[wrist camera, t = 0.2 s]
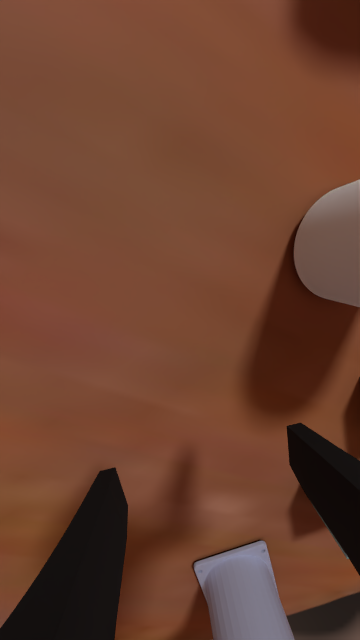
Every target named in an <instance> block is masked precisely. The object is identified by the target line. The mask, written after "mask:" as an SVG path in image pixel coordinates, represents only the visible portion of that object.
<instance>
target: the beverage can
mask: <svg viewBox="0 0 360 640" xmlns="http://www.w3.org/2000/svg"><path fill="white" fill-rule="evenodd" d="M294 262H295V267H296V270H297V273H298V276H299V278H300V279H301V281H302V283H303V284H304V285H305V286H306V287H307V288H308V289H309V290H310V291H311V292H312V293H314V294H315V295H317V296H319V297H322V298H325V299H329V300H333V301H337V302H341V303H345V304H349V305H353V306H357V307H360V180H357V181H355V182H352V183H349V184H347V185H344V186H341V187H339V188H336V189H334V190H332V191H330V192H328V193H327V194H325V195H324V196H322V197H321V198H320V199H319V200H318V201H316V202H315V203H314V205H313V206H312V207H311V208H310V209H309V211H308V212H307V213H306V215H305V216H304V218H303V220H302V222H301V224H300V226H299V228H298V231H297V234H296V238H295V243H294Z"/></svg>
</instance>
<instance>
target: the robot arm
mask: <svg viewBox="0 0 360 640" xmlns="http://www.w3.org/2000/svg"><path fill="white" fill-rule="evenodd" d="M287 436H288V449H289V462H290V466H291V468H292V470H293V472H294V474H295V476H296V478H297V480H298V481H299V483H300V485H301V487H302V489H303V490H304V492H305V494H306V495H307V497H308V498H309V500H310V501H311V503H312V504H313V506H314V507H315V509H316V510H317V512H318V513H319V515H320V516H321V518H322V519H323V521H324V522H325V524H326V525H327V527H328V528H329V530H330V531H331V533H332V534H333V535H334V537H335V538H336V540H337V541H338V543H339V544H340V546H341V547H342V549H343V550H344V552H345V553H346V555H347V556H348V558H349V559H350V561H351V562H352V564H353V566H354V567H355V569H356V570H357V572H358V573H359V575H360V461H359V460H358V459H356V458H354V457H353V456H351V455H350V454H348V453H346V452H345V451H343V450H342V449H340V448H338V447H337V446H335V445H334V444H332V443H331V442H329V441H328V440H326V439H325V438H323V437H322V436H320V435H319V434H317V433H316V432H314V431H313V430H311V429H310V428H308V427H306V426H305V425H303V424H302V423H298V424H293V425H289V426H287ZM127 518H128V504H127V501H126V498H125V495H124V492H123V489H122V486H121V483H120V480H119V477H118V474H117V471H116V468H111V469H107V470H103V471H100V472H99V474H98V475H97V477H96V479H95V481H94V482H93V484H92V486H91V488H90V490H89V492H88V493H87V495H86V497H85V499H84V501H83V502H82V504H81V506H80V508H79V509H78V511H77V513H76V515H75V516H74V518H73V520H72V521H71V523H70V525H69V527H68V528H67V530H66V532H65V533H64V535H63V537H62V538H61V540H60V541H59V543H58V545H57V546H56V548H55V549H54V551H53V553H52V554H51V556H50V557H49V559H48V560H47V562H46V564H45V565H44V567H43V568H42V570H41V571H40V573H39V574H38V576H37V577H36V579H35V580H34V582H33V583H32V585H31V586H30V588H29V589H28V591H27V592H26V594H25V595H24V596H23V598H22V599H21V601H20V602H19V603H18V605H17V606H16V608H15V609H14V611H13V612H12V613H11V615H10V616H9V617H8V619H7V620H6V621H5V623H4V624H3V625H2V627H1V628H0V640H114V638H115V628H116V619H117V611H118V604H119V596H120V588H121V580H122V572H123V564H124V556H125V548H126V540H127ZM194 570H195V573H196V575H197V578H198V581H199V583H200V586H201V588H202V591H203V593H204V596H205V599H206V601H207V604H208V608H209V614H210V621H211V627H212V634H213V640H295V639H294V637H293V634H292V631H291V629H290V626H289V623H288V620H287V618H286V615H285V612H284V609H283V607H282V604H281V601H280V598H279V596H278V591H277V586H276V582H275V578H274V574H273V570H272V566H271V562H270V558H269V554H268V550H267V546H266V543H265V542H264V541H258V542H255V543H252V544H249V545H246V546H243V547H239V548H236V549H233V550H230V551H227V552H224V553H221V554H218V555H215V556H212V557H209V558H206V559H203V560H200V561H197V562H195V563H194Z"/></svg>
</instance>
